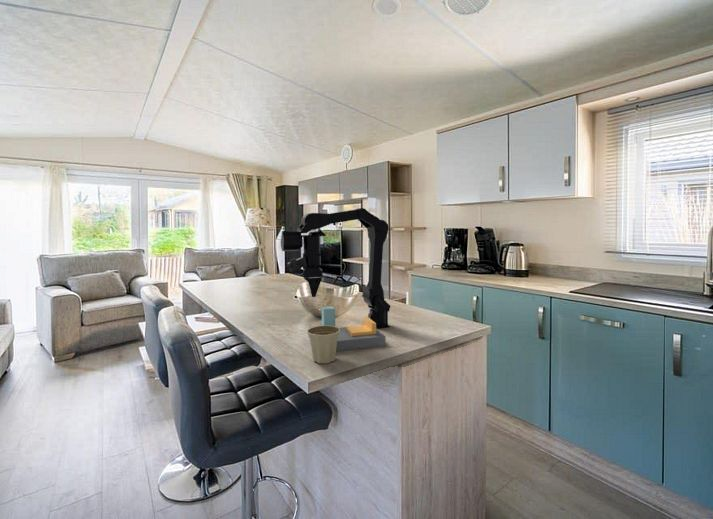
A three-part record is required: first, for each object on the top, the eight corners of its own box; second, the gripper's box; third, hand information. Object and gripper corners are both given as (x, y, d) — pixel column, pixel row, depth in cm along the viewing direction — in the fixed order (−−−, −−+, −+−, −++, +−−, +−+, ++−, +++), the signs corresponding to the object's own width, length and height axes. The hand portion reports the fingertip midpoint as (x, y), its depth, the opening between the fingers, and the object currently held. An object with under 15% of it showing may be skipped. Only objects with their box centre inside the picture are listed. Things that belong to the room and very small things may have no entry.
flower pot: (312, 368, 96) (312, 336, 96) (303, 356, 105) (302, 327, 104) (345, 362, 100) (345, 332, 99) (333, 352, 109) (333, 323, 108)
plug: (332, 330, 131) (332, 306, 130) (335, 334, 127) (335, 308, 126) (321, 332, 130) (321, 307, 129) (324, 335, 126) (323, 309, 125)
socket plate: (370, 333, 128) (370, 324, 128) (385, 345, 114) (385, 336, 114) (314, 338, 122) (314, 329, 122) (323, 352, 109) (322, 342, 108)
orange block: (368, 327, 124) (368, 317, 124) (376, 333, 116) (376, 323, 116) (345, 329, 122) (345, 319, 121) (352, 336, 114) (352, 325, 114)
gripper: (289, 248, 134) (291, 290, 135) (286, 252, 115) (288, 301, 117) (320, 247, 135) (321, 289, 136) (321, 251, 117) (323, 299, 118)
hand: (313, 294), depth 127 cm, fingers open, 9 cm apart
